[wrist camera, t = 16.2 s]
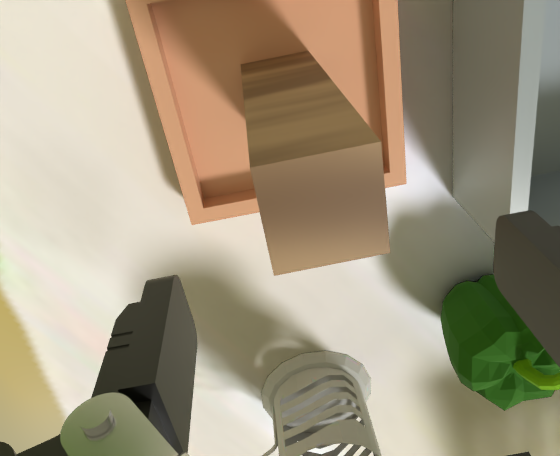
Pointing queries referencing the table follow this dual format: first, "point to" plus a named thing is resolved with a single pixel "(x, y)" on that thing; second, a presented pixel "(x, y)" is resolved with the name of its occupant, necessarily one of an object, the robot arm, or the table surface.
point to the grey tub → (506, 109)
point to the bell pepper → (495, 346)
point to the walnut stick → (312, 166)
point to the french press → (319, 405)
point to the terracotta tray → (229, 90)
